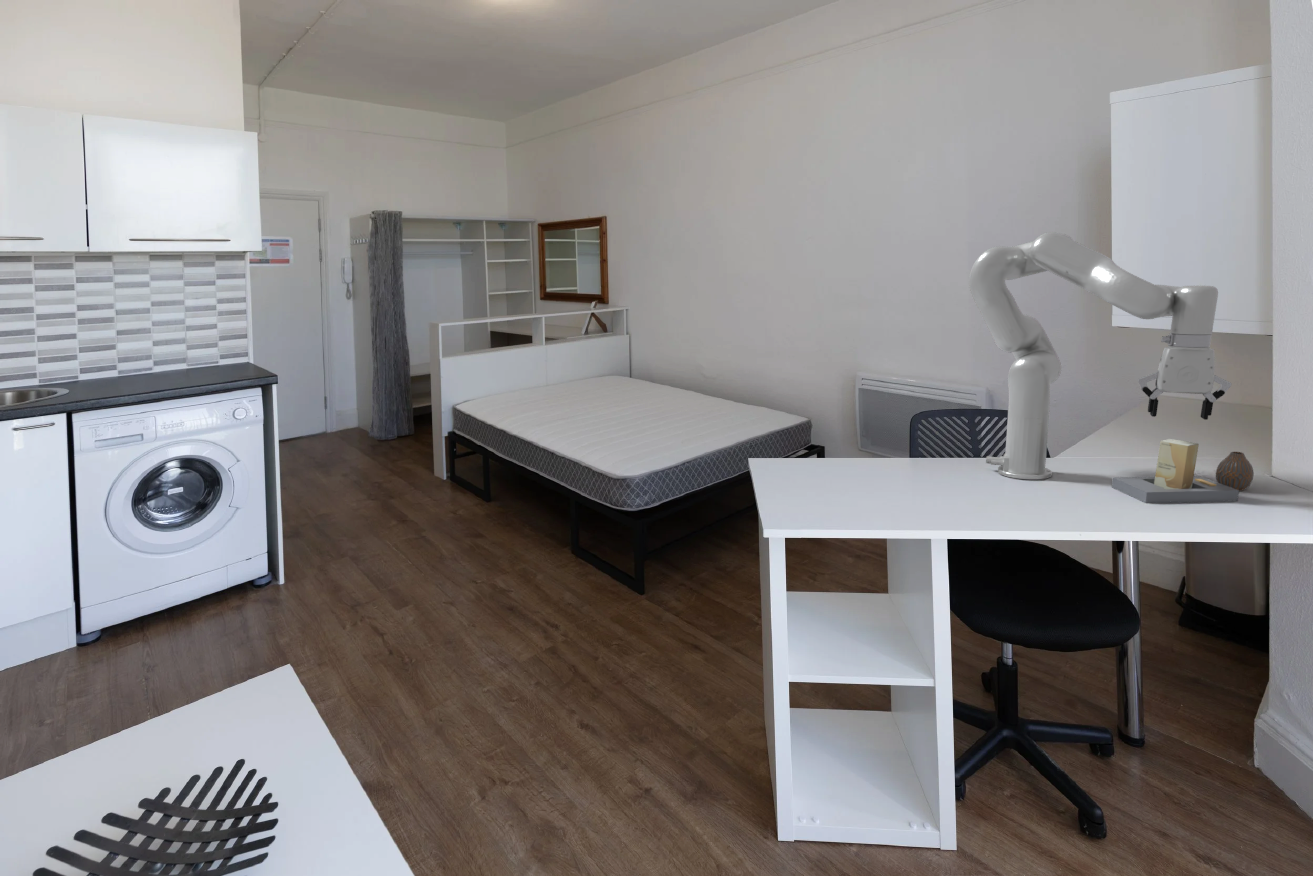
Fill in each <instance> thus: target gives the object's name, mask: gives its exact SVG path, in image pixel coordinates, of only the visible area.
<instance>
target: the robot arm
mask: <svg viewBox="0 0 1313 876" xmlns="http://www.w3.org/2000/svg"><path fill="white" fill-rule="evenodd" d="M1044 272H1050V273H1051V274H1054V275H1055V276H1058V277H1060V278H1062V279H1063V280H1066V282H1070V284H1073V285H1074V286H1075V285H1076V287H1079V288H1081V289H1083V290H1085V291H1086V292H1088V293H1090V294H1092V295H1094V296H1096V297H1098V298H1099V299H1101V300H1103V301H1104V302H1106V303H1108V304H1110V305H1111V306H1113V307H1116V308H1117V309H1120V310H1122V311H1123V312H1126V313H1128V314H1130V315H1132V316H1134V317H1136V318H1139V319H1140V320H1141V319H1142V320H1153V319H1154V320H1155V319H1157V318H1164V317H1166V318H1167V317H1172V319H1171V324H1170V331H1169V333H1168V334H1167V335H1165V336H1162V337H1161V338H1160V339H1161V340H1160V341H1161V343H1165V344H1167V345H1168V346H1164V349H1163V351H1162V354H1161V357H1160V360H1159V364H1158V368H1157V371H1155V372H1153V373H1150V374H1147V375H1145V376H1143V377H1139V378H1138V379H1137V383H1138V385H1139V387H1140V389H1141V391H1142V392H1143V393H1144V394H1145V395H1146V396H1147V397H1148V398H1149V399H1148V406H1147V412H1148V413H1149V415H1150V416H1151V417H1153V418H1155V417H1157V413H1158V406H1159V399H1158V397H1159V396H1161V395H1162V394H1163V393H1173V394H1191V395H1192V394H1193V395H1202V396H1203V397H1204V399H1203V401H1202V404H1201V412H1200V418H1202V419H1203V420H1205V421H1206V420H1208V419H1209V417H1210V416H1212V413H1213V405H1214V403H1215V402H1216V401H1217V400H1219V399H1220V398H1221V397H1222V396H1224V395H1225V394H1226V392H1228V390H1229V389H1230V387H1232V383H1231V382H1230V381H1228V380H1226V379H1224V378H1221V377H1219V376H1218V375H1215V367H1216V366H1215V365H1216V355H1215V354H1216V353H1215V349H1214V348H1211V344H1212V336H1213V335H1212V334H1213V329H1214V323H1215V322H1214V321H1215V316H1216V309H1217V305H1218V297H1219V291H1218V288H1217V287H1216V286H1214V285H1213V286H1212V285H1184V286H1183V285H1182V286H1175V285H1165V284H1154V283H1152V282H1149V281H1147V280H1145V279H1144V278H1141V277H1139V276H1137V275H1135V274H1133V273H1131V272H1129V271H1127V270H1125V269H1123V268H1122V267H1120V266H1119V265H1117V263H1115V261H1114V260H1113V259H1112V258H1111V257H1108V256H1107V255H1105V254H1104V253H1101V252H1100V251H1097V250H1095V249H1092V248H1090V247H1088V246H1086V245H1084V244H1081V243H1079V242H1077V241H1076V240H1074V239H1073V238H1072V237H1071V236H1070V235H1068V234H1065V233H1061V232H1055V231H1054V232H1053V231H1052V232H1051V231H1049V232H1045V233H1042V234H1041V235H1039V236H1037V237H1036V239H1034V240H1033V241H1029V242H1026V243H1021V244H1018V245H1015V246H994V247H991V248H988V249H986V250H985V251H984V252H981V254H980V255H979V256H978V257H977V258H976V260H975V262H973V264H972V267H971V269H970V272H969V277H968V285H969V289H970V290H969V291H970V294H971V297H972V300H973V301H974V302H975V304H976V305H975V306H977V309H978V310H979V312H980V313H979V314H981V318H982V319H983V321H984V323H985V325H986V328H987V330H988V331H989V333H990V335H991V337H992V340H993V341H994V343H995V345H996V347H997V348H998V349H999V350H1001V351H1002V352H1004V353H1012V355H1013V357H1014V359H1015V360H1014V361H1013V362H1012V364H1011V365H1010V368H1009V369H1008V374H1007V385H1008V387H1007V389H1008V405H1007V407H1008V409H1007V422H1006V423H1007V425H1006V437H1005V438H1006V441H1005V453H1003V455H1000V456H999V457H996V456H995V457H994V456H989V455H987V456H986V458H985V459H986V460H985V464H990V465H991V466H997V472H998V474H1000V475H1001V476H1005V477H1008V478H1012V479H1019V480H1044V479H1048V478H1051V477H1052V475H1053V474H1052V473H1053V472H1052V470H1051V469H1049V468H1047V467H1046V463H1047V462H1046V461H1047V451H1048V437H1049V425H1050V413H1051V412H1050V411H1051V389H1050V387H1051V385H1052V384H1053V383H1055V382H1056V381H1057V380H1058V378H1059V377H1060V376H1061V375H1060V374H1061V373H1062V361H1061V360H1060V358H1059V355H1058V354H1057V352H1056V349H1055V348H1054V346H1053V344H1052V341H1051V340H1050V338H1049V336H1048V334H1047V333H1046V330H1045V329H1044V327H1043V325H1042V324H1041V323H1040V321H1039V320H1037V319H1036V318H1035V317H1034V316H1033V315H1029V314H1023V312H1022V311H1021V309H1020V307H1019V306H1018V303H1017V301H1016V299H1015V297H1014V295H1013V294H1012V293H1011V291H1010V289H1009V287H1007V283H1006V281H1012V280H1016V279H1021V278H1024V277H1029V276H1033V275H1037V274H1041V273H1044ZM1154 380H1155V386H1154V388H1153V389H1152V390H1151V389H1150V388H1149V387H1148V384H1147V383H1149V382H1150V381H1154ZM1214 382H1215V383H1217V384H1219V386H1220V387H1219V388H1218V389H1216V390H1215V391H1213V389H1214ZM1212 391H1213V392H1212Z"/></svg>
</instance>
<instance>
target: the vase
mask: <svg viewBox="0 0 1313 876" xmlns="http://www.w3.org/2000/svg"><path fill="white" fill-rule="evenodd" d="M1254 474H1255V473H1254V467H1253V465H1252V464H1251V462H1250V461H1249V460H1248V458H1247V457H1246V455H1245V452H1242V451H1241V452H1240V451H1231V452H1230V453H1229V454H1228V455H1227V456H1226V457H1225V458H1223V459H1222V460H1221V461H1220V462H1219V464H1218V465H1217V467H1216V470H1215V478H1216V482H1217V483H1220V484H1223V485H1226V486H1228V487H1231V488H1234V489H1237V490H1239V492H1241V491H1244V490H1247V488H1249V486H1251V485H1252V483H1253V479H1254Z"/></svg>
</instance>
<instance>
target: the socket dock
mask: <svg viewBox="0 0 1313 876" xmlns="http://www.w3.org/2000/svg"><path fill="white" fill-rule="evenodd" d="M1154 481H1155V475H1154V476H1153V475H1152V476H1120V477H1119V476H1116V477H1112V480H1111V488H1113V489H1114V490H1116V491H1119V492H1121V493H1123V494H1126V495H1128V496H1130V497H1132V498H1133V499H1136V500H1138V501H1141V502H1143V503H1144V504H1153V503H1154V504H1157V503H1158V504H1160V503H1161V504H1162V503H1163V504H1165V503H1166V504H1167V503H1205V502H1207V503H1208V502H1209V503H1210V502H1211V503H1213V502H1238V501H1239V493H1240V491H1239V490H1237V489H1234V488H1231V487H1228V486H1226V485H1223V484H1220V483H1218V482H1217V481H1214V480H1211V479H1209V478H1206V477H1203V476H1201V475H1195V474H1194V477H1193V484H1192V489H1164V488H1162V487H1159V486H1157V485H1155V484H1154Z"/></svg>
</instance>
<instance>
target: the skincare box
mask: <svg viewBox="0 0 1313 876" xmlns="http://www.w3.org/2000/svg"><path fill="white" fill-rule="evenodd" d="M1198 451H1199V443H1198V442H1193V441H1186V440H1180V439H1174V438H1167V439H1164V440H1160V442H1159V447H1158V454H1157V463H1156V468H1155V475H1154V476H1155V481H1154V484H1155V485H1157V486H1159V487H1162V488H1164V489H1192V484H1193V477H1194V476H1195V470H1196V464H1197V457H1198Z"/></svg>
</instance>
